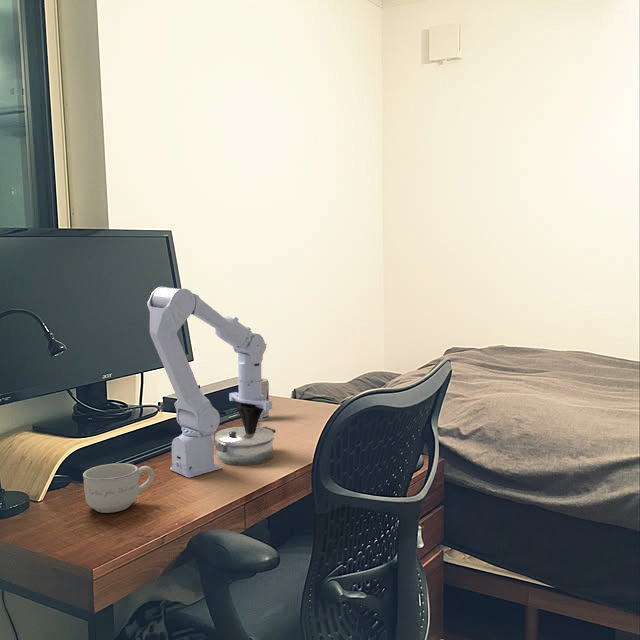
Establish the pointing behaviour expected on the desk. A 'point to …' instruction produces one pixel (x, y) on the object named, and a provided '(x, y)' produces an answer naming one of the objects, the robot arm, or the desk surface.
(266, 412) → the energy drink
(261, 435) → the lid
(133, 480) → the teacup
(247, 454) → the pot
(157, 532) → the desk surface
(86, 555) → the desk surface
